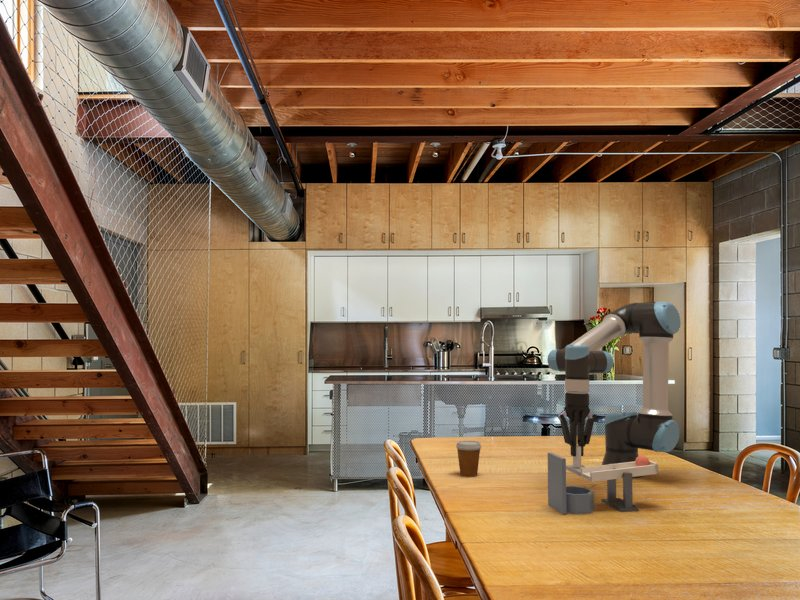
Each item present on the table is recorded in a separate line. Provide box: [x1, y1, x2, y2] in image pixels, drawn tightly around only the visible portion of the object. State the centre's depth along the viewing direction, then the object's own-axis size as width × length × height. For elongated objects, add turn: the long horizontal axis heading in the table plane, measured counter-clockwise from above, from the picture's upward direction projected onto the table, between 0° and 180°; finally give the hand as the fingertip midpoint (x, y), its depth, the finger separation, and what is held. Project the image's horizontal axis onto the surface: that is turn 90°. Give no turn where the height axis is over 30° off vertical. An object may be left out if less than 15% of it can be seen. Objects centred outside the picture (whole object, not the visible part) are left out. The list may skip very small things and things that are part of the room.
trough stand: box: [601, 473, 640, 513], centre depth 191 cm, size 6×11×11 cm, turn 11°
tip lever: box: [566, 459, 659, 483], centre depth 196 cm, size 22×18×4 cm
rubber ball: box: [635, 454, 649, 466], centre depth 192 cm, size 4×4×4 cm
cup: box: [547, 452, 595, 515], centre depth 188 cm, size 12×11×16 cm
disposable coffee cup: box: [455, 440, 482, 478], centre depth 232 cm, size 10×10×12 cm
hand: (577, 466), depth 199 cm, fingers closed
